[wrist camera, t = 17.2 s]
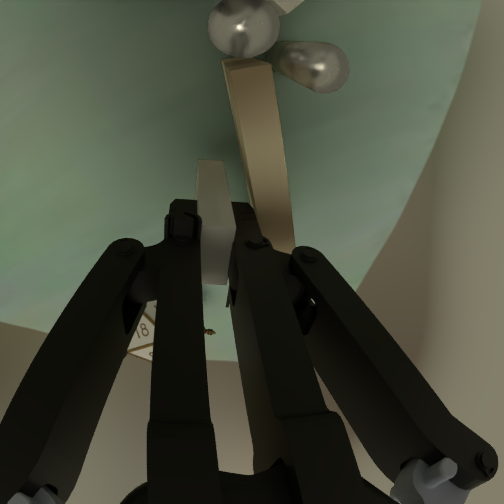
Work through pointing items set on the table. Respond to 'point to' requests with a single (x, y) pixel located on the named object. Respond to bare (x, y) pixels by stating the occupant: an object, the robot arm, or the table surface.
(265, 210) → the gate
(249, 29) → the gate post
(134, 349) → the game die
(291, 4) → the light grey flat panel
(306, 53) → the peg
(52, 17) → the table surface
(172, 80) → the table surface
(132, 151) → the table surface
